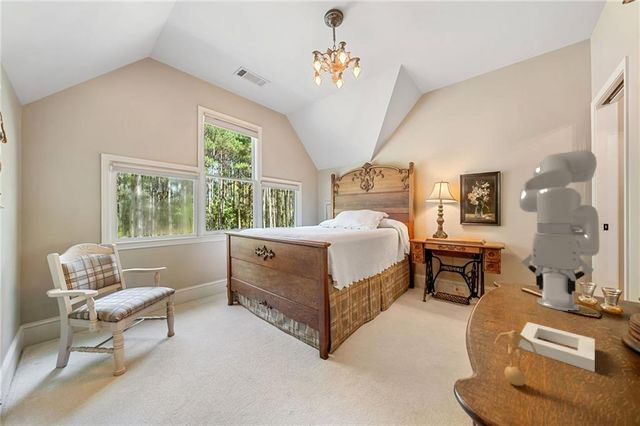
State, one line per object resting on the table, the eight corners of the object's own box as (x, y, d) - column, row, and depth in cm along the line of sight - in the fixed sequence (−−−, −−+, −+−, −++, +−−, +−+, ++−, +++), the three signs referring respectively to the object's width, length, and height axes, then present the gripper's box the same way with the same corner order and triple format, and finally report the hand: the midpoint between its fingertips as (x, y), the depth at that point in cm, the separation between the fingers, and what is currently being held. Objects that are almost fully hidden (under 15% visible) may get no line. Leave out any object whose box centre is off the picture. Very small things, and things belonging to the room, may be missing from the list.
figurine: (492, 380, 58) (492, 331, 58) (495, 368, 63) (494, 322, 63) (539, 397, 53) (538, 342, 53) (538, 382, 57) (537, 331, 57)
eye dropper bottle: (567, 304, 68) (566, 262, 68) (540, 299, 72) (540, 259, 72) (570, 301, 70) (570, 260, 70) (544, 295, 75) (544, 257, 75)
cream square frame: (527, 330, 82) (527, 321, 82) (594, 349, 70) (594, 338, 70) (518, 347, 72) (518, 337, 72) (594, 372, 61) (594, 360, 61)
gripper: (598, 230, 67) (599, 295, 67) (519, 227, 80) (520, 282, 80) (598, 231, 62) (599, 302, 62) (514, 229, 75) (515, 287, 75)
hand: (555, 290), depth 71 cm, fingers closed on eye dropper bottle, 5 cm apart
